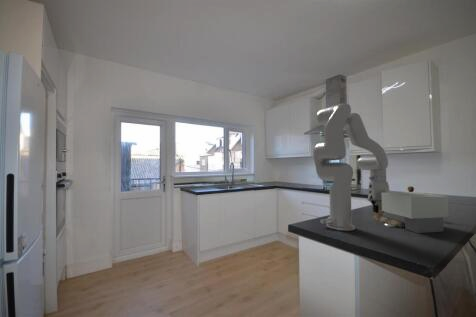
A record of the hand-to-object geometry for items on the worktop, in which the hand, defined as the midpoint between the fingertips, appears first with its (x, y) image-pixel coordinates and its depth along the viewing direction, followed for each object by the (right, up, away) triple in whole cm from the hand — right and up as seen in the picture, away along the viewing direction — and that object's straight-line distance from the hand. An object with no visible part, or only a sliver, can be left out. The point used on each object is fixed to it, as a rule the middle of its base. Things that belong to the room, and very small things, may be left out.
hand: (378, 211), depth 117 cm
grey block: (+8, -4, -14) cm, 16 cm away
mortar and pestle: (+23, -5, +6) cm, 25 cm away
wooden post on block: (+1, -4, -6) cm, 8 cm away
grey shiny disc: (-2, -4, -11) cm, 12 cm away
